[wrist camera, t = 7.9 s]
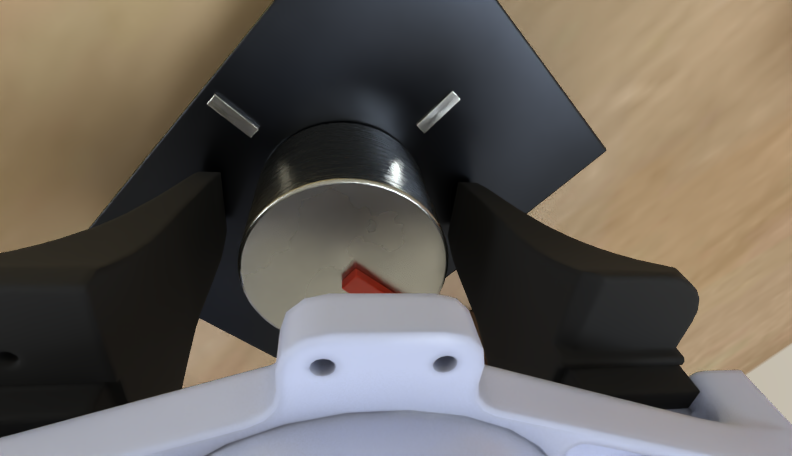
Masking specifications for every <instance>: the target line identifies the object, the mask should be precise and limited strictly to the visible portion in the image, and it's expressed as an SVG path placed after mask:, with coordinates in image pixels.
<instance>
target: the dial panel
mask: <svg viewBox="0 0 792 456" xmlns="http://www.w3.org/2000/svg"><path fill="white" fill-rule="evenodd" d="M329 123H353V124H360V125H364V126H368V127H371V128H374V129H376V130H379V131H381V132H383V133H385V134H387V135H389V136H391V137H392V138H393V139H395V140H396V141H397V142H399V143H400V144H401V145H402V146H403V147H404V148H405V149H406V150H407V151H408V152H409V153H410V155H411V156H412V157H413V159H414V160H415V162H416V164H417V165H418V167H419V170H420V172H421V175H422V177H423V180H424V183H425V185H426V188H427V191H428V193H429V196H430V198H431V201H432V204H433V206H434V209H435V212H436V214H437V217H438V219H439V222H440V225H441V227H442V230H443V233H444V235H445V238H446V241H447V246H448V255H449V262H448V270H447V274H446V277H447V276H448V275H450V274H451V273H452V272H454V271H455V270H456V267H455V265H454V262H453V259H452V254H451V250H450V246H449V241H448V236H447V235H448V231H449V226H450V221H451V216H452V211H453V206H454V201H455V196H456V191H457V186H458V182H470V183H478V184H480V185H482V186H484V187H486V188H487V189H489V190H491V191H492V192H494V193H495V194H497V195H498V196H500V197H501V198H503V199H504V200H506V201H507V202H509V203H510V204H512V205H513V206H515V207H516V208H518V209H519V210H521V211H522V212H524V213H526V214H527V213H528V212H529V211H531V210H532V209H533V208H535V207H536V206H537V205H538V204H540V203H541V202H542V201H543V200H545V199H546V198H547V197H548V196H550V195H551V194H552V193H554V192H555V191H556V190H557V189H559V188H560V187H561V186H562V185H564V184H565V183H566V182H567V181H569V180H570V179H571V178H573V177H574V176H575V175H576V174H578V173H579V172H580V171H581V170H583V169H584V168H585V167H586V166H588V165H589V164H590V163H592V162H593V161H594V160H595V159H597V158H598V157H599V156H600V155H602V154H603V153H604V152H605V151H606V148H605V147H604V145H603V144H602V143H601V141H600V140H599V138H598V137H597V136H596V134H595V133H594V132H593V130H592V129H591V128H590V126H589V125H588V123H587V122H586V121H585V119H584V118H583V117H582V115H581V114H580V113H579V111H578V110H577V108H576V107H575V106H574V104H573V103H572V102H571V100H570V99H569V98H568V96H567V95H566V93H565V92H564V91H563V89H562V88H561V87H560V85H559V84H558V82H557V81H556V80H555V78H554V77H553V76H552V74H551V73H550V72H549V70H548V69H547V67H546V66H545V65H544V63H543V62H542V61H541V59H540V58H539V57H538V55H537V54H536V52H535V51H534V50H533V48H532V47H531V46H530V44H529V43H528V42H527V40H526V39H525V37H524V36H523V35H522V33H521V32H520V31H519V29H518V28H517V27H516V25H515V24H514V22H513V21H512V20H511V18H510V17H509V16H508V14H507V13H506V11H505V10H504V9H503V7H502V6H501V5H500V3H499V2H498V1H497V0H274V1H273V2H272V3H271V4H270V6H269V7H268V8H267V9H266V10H265V12H264V13H263V14H262V15H261V17H260V18H259V19H258V20H257V22H256V23H255V24H254V25H253V26H252V28H251V29H250V30H249V31H248V33H247V34H246V35H245V36H244V38H243V39H242V40H241V41H240V42H239V44H238V45H237V46H236V47H235V49H234V50H233V51H232V52H231V54H230V55H229V56H228V57H227V58H226V60H225V61H224V62H223V63H222V65H221V66H220V67H219V68H218V70H217V71H216V72H215V73H214V74H213V76H212V77H211V78H210V79H209V81H208V82H207V83H206V84H205V86H204V87H203V88H202V89H201V90H200V92H199V93H198V94H197V95H196V97H195V98H194V99H193V100H192V102H191V103H190V104H189V105H188V106H187V108H186V109H185V110H184V111H183V113H182V114H181V115H180V116H179V118H178V119H177V120H176V121H175V122H174V124H173V125H172V126H171V127H170V129H169V130H168V131H167V132H166V134H165V135H164V136H163V137H162V138H161V140H160V141H159V142H158V143H157V145H156V146H155V147H154V148H153V150H152V151H151V152H150V153H149V154H148V156H147V157H146V158H145V159H144V161H143V162H142V163H141V164H140V166H139V167H138V168H137V169H136V170H135V172H134V173H133V174H132V175H131V177H130V178H129V179H128V180H127V182H126V183H125V184H124V185H123V187H122V188H121V189H120V190H119V191H118V193H117V194H116V195H115V196H114V198H113V199H112V200H111V201H110V203H109V204H108V205H107V206H106V207H105V209H104V210H103V211H102V212H101V214H100V215H99V216H98V217H97V219H96V220H95V221H94V222H93V224H92V225H91V226H90V227H89V229H90V228H93V227H96V226H98V225H101V224H103V223H105V222H108V221H110V220H112V219H115V218H117V217H119V216H121V215H124V214H126V213H128V212H130V211H132V210H133V209H135V208H137V207H139V206H141V205H142V204H144V203H146V202H148V201H150V200H152V199H153V198H155V197H157V196H159V195H160V194H162V193H163V192H165V191H167V190H168V189H170V188H172V187H173V186H175V185H176V184H178V183H180V182H181V181H183V180H184V179H186V178H188V177H189V176H191V175H193V174H194V173H196V172H221V181H222V190H223V198H224V207H225V216H226V225H227V234H226V240H225V245H224V249H223V254H222V258H221V261H220V264H219V266H218V269H217V272H216V274H215V277H214V280H213V282H212V285H211V288H210V290H209V293H208V295H207V298H206V301H205V303H204V306H203V308H202V311H201V314H200V317H199V318H200V319H202V320H204V321H206V322H208V323H210V324H212V325H214V326H216V327H218V328H219V329H221V330H223V331H225V332H227V333H229V334H231V335H233V336H235V337H237V338H239V339H241V340H243V341H245V342H246V343H248V344H250V345H252V346H254V347H256V348H258V349H260V350H262V351H264V352H266V353H268V354H270V355H272V356H273V357H275V358H277V351H278V343H279V334H280V330H279V329H278V328H276V327H274V326H273V325H271V324H270V323H269V322H267V321H266V320H265V319H264V318H263V317H262V316H261V315H260V314H259V313H258V312H257V311H256V310H255V309H254V307H253V306H252V305H251V304H250V302H249V300H248V299H247V297H246V295H245V293H244V291H243V288H242V285H241V283H240V279H239V273H238V254H239V248H240V244H241V241H242V237H243V234H244V230H245V226H246V223H247V219H248V216H249V212H250V209H251V205H252V201H253V198H254V194H255V191H256V187H257V184H258V180H259V177H260V174H261V171H262V169H263V167H264V165H265V163H266V161H267V160H268V159H269V157H270V156H271V154H272V153H273V152H274V151H275V150H276V149H277V148H278V147H279V146H280V145H281V144H282V143H283V142H285V141H286V140H287V139H289V138H290V137H292V136H294V135H295V134H297V133H299V132H301V131H303V130H306V129H308V128H311V127H314V126H318V125H322V124H329Z"/></svg>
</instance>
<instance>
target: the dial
mask: <svg viewBox="0 0 792 456" xmlns="http://www.w3.org/2000/svg"><path fill="white" fill-rule="evenodd" d="M448 262H449V255H448V246H447V241H446V238H445V235H444V233H443V230H442V227H441V225H440V222H439V219H438V217H437V214H436V212H435V209H434V206H433V204H432V201H431V198H430V196H429V193H428V191H427V188H426V185H425V183H424V180H423V177H422V175H421V172H420V170H419V167H418V165H417V164H416V162H415V160H414V159H413V157H412V156H411V155H410V153H409V152H408V151H407V150H406V149H405V148H404V147H403V146H402V145H401V144H400V143H399V142H397V141H396V140H395V139H393V138H392V137H391V136H389V135H387V134H385V133H383V132H381V131H379V130H376V129H374V128H371V127H368V126H364V125H360V124H353V123H329V124H322V125H318V126H314V127H311V128H308V129H306V130H303V131H301V132H299V133H297V134H295V135H294V136H292V137H290V138H289V139H287V140H286V141H285V142H283V143H282V144H281V145H280V146H279V147H278V148H277V149H276V150H275V151H274V152H273V153H272V154H271V156H270V157H269V159H268V160H267V161H266V163H265V165H264V167H263V169H262V171H261V174H260V177H259V180H258V184H257V187H256V191H255V194H254V198H253V201H252V205H251V209H250V212H249V216H248V219H247V223H246V226H245V230H244V234H243V237H242V241H241V244H240V248H239V254H238V273H239V279H240V283H241V285H242V288H243V291H244V293H245V295H246V297H247V299H248V300H249V302H250V304H251V305H252V306H253V307H254V309H255V310H256V311H257V312H258V313H259V314H260V315H261V316H262V317H263V318H264V319H265V320H266V321H267V322H269V323H270V324H271V325H273V326H274V327H276V328H278V329H279V330H280V328H281V325H282V322H283V320H284V317H285V314H286V312H287V311H288V310H289V309H291V308H292V307H293V306H295V305H296V304H298V303H299V302H300V301H302V300H303V299H304V298H309V297H314V296H319V295H324V294H329V293H435V294H439V293H440V291H441V288H442V286H443V284H444V281H445V278H446V274H447V270H448Z"/></svg>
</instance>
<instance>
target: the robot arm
mask: <svg viewBox="0 0 792 456" xmlns="http://www.w3.org/2000/svg"><path fill="white" fill-rule="evenodd" d="M226 234H227V225H226V216H225V207H224V198H223V190H222V181H221V172H196V173H194V174H193V175H191V176H189V177H188V178H186V179H184V180H183V181H181V182H180V183H178V184H176V185H175V186H173V187H172V188H170V189H168V190H167V191H165V192H163V193H162V194H160V195H159V196H157V197H155V198H153V199H152V200H150V201H148V202H146V203H144V204H142V205H141V206H139V207H137V208H135V209H133V210H132V211H130V212H128V213H126V214H124V215H121V216H119V217H117V218H115V219H112V220H110V221H108V222H105V223H103V224H101V225H98V226H96V227H93V228H90V229H87V230H84V231H81V232H78V233H75V234H72V235H69V236H66V237H64V238H61V239H57V240H54V241H50V242H46V243H43V244H39V245H35V246H31V247H27V248H22V249H18V250H14V251H9V252H4V253H0V456H792V424H791V423H790V422H789V421H788V420H787V419H786V418H785V417H784V416H783V415H782V414H781V413H780V411H778V409H777V408H776V407H775V406H774V405H773V404H772V403H771V402H770V401H769V400H768V399H767V398H766V397H765V395H764V394H763V393H762V392H761V391H760V390H759V389H758V388H757V387H756V386H755V385H754V384H753V383H752V382H751V381H750V379H749V378H748V377H747V376H746V375H745V374H744V373H743V372H742V371H741V370H711V371H700V372H696V373H694V374H692V375H690V376H689V377H688V376H687V374H686V373H685V372H684V371H683V370H682V368H681V367H680V366H679V365H682V364H683V363H684V357H683V356H682V354H681V353H680V352H679V351H678V350H677V348H676V347H677V345H678V343H679V342H680V340H681V339H682V337H683V335H684V334H685V332H686V331H687V329H688V328H689V326H690V324H691V323H692V321H693V319H694V317H695V315H696V313H697V310H698V305H699V296H698V292H697V290H696V289H695V287H694V286H693V285H692V284H691V283H690V282H689V281H688V280H687V279H686V278H685V277H684V276H683V275H682V274H681V273H680V272H679V271H678V270H677V269H676V268H673V267H668V266H664V265H659V264H655V263H650V262H645V261H641V260H636V259H633V258H629V257H626V256H622V255H618V254H615V253H612V252H609V251H606V250H602V249H599V248H597V247H594V246H591V245H589V244H586V243H583V242H581V241H578V240H576V239H574V238H571V237H569V236H567V235H565V234H563V233H560V232H558V231H556V230H554V229H552V228H550V227H548V226H546V225H544V224H543V223H541V222H539V221H537V220H536V219H534V218H532V217H531V216H529V215H527V214H526V213H524V212H522V211H521V210H519V209H518V208H516V207H515V206H513V205H512V204H510V203H509V202H507V201H506V200H504V199H503V198H501V197H500V196H498V195H497V194H495V193H494V192H492V191H491V190H489V189H487V188H486V187H484V186H482V185H480V184H478V183H470V182H458V186H457V191H456V196H455V201H454V206H453V211H452V216H451V221H450V226H449V231H448V235H447V236H448V241H449V246H450V250H451V254H452V259H453V262H454V265H455V267H456V270H457V272H458V275H459V278H460V280H461V283H462V285H463V288H464V290H465V293H466V295H467V298H468V300H469V303H470V305H471V308H472V310H473V313H474V315H475V318H476V321H477V324H478V328H479V332H480V336H481V339H482V343H483V347H484V350H483V347H482V344H481V341H480V338H479V336H478V333H477V330H476V328H475V325H474V322H473V320H472V317H471V314H470V311H469V310H468V309H467V308H466V307H465V306H464V305H463V304H462V303H461V302H460V301H459V300H458V299H457V298H453V297H449V296H444V295H440V294H435V293H329V294H324V295H319V296H314V297H309V298H304V299H303V300H302V301H300V302H299V303H298V304H296V305H295V306H293V307H292V308H291V309H289V310H288V311H287V312H286V314H285V317H284V320H283V322H282V325H281V328H280V334H279V343H278V351H277V359H276V363H274V364H273V365H269V366H265V367H262V368H258V369H254V370H251V371H247V372H243V373H239V374H236V375H232V376H228V377H224V378H221V379H217V380H213V381H210V382H206V383H202V384H198V385H195V386H191V387H187V388H184V389H182V385H183V381H184V376H185V372H186V367H187V363H188V358H189V354H190V350H191V346H192V342H193V337H194V333H195V329H196V326H197V323H198V320H199V317H200V314H201V311H202V308H203V306H204V303H205V301H206V298H207V295H208V293H209V290H210V288H211V285H212V282H213V280H214V277H215V274H216V272H217V269H218V266H219V264H220V261H221V258H222V254H223V249H224V245H225V240H226ZM484 351H485V355H486V360H487V364H488V365H484Z"/></svg>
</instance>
